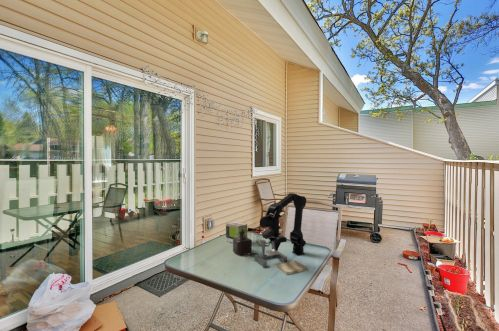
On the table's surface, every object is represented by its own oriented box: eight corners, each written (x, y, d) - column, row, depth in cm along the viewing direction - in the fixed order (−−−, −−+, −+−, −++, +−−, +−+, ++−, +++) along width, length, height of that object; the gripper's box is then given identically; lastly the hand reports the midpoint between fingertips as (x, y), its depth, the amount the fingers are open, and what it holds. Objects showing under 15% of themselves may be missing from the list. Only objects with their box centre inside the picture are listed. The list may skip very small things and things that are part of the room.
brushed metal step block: (275, 252, 162) (275, 240, 161) (278, 254, 159) (278, 241, 159) (266, 254, 159) (266, 241, 159) (268, 256, 156) (268, 243, 156)
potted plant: (231, 251, 180) (231, 226, 180) (245, 248, 185) (245, 224, 185) (240, 258, 166) (240, 231, 166) (255, 255, 171) (255, 229, 171)
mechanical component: (270, 256, 170) (270, 241, 169) (255, 255, 172) (255, 240, 172) (271, 254, 173) (271, 240, 172) (256, 253, 175) (256, 239, 174)
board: (295, 262, 159) (295, 260, 159) (307, 269, 148) (307, 267, 148) (275, 266, 153) (275, 264, 153) (286, 274, 142) (286, 272, 142)
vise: (277, 256, 170) (277, 250, 170) (287, 262, 159) (287, 257, 159) (254, 260, 163) (254, 255, 163) (263, 267, 152) (263, 261, 152)
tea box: (247, 242, 199) (247, 223, 199) (238, 245, 192) (238, 226, 191) (234, 238, 209) (234, 220, 209) (225, 241, 202) (225, 223, 202)
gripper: (256, 223, 164) (256, 247, 165) (270, 230, 147) (271, 256, 148) (271, 221, 169) (271, 244, 169) (287, 227, 152) (287, 253, 152)
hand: (274, 249), depth 160 cm, fingers closed on brushed metal step block, 3 cm apart
